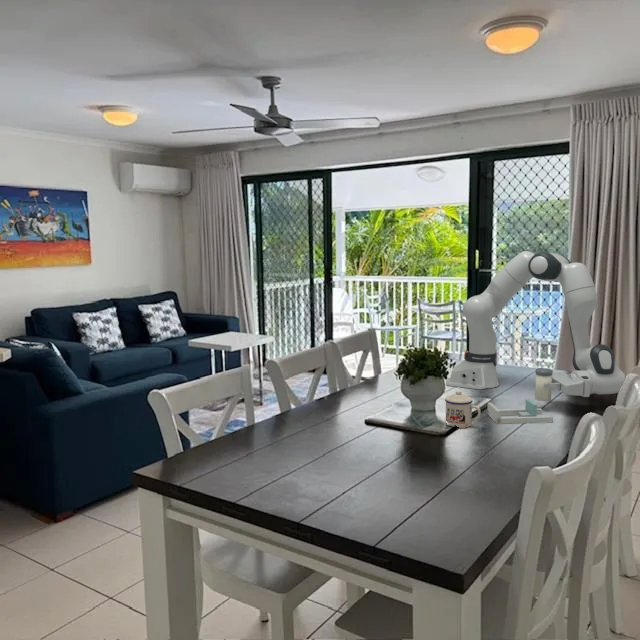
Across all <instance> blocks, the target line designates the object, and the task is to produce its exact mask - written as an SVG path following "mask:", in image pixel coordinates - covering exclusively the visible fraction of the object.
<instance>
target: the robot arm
mask: <svg viewBox="0 0 640 640" xmlns="http://www.w3.org/2000/svg"><path fill="white" fill-rule="evenodd" d="M533 278H535V279H536V280H539V281H544V282H555V283H559V284H560V286H561V288H562V292H563V296H564V299H565V303H566V304H565V305H566V308H567V317H568V323H569V324H568V325H569V330H570V335H571V341H572V347H573V356H572V366H573V369H574V370H571V372H570V373H569V374H567V373H566V372H558V371H553V375H552V383H544V387H545V388H551V390H558V391H559V392H561V393H562V394H563V395H567V396H578V397H579V396H581V397H583V398H589V397H590V395H592V394H593V395H594V394H597V395H612V394H613V395H614V394H618V393H620V392H619V390H620V388H621V386H622V385H623V383H624V381H625V378H626V374H625V373H624V372H623V371H622V370H621V369H620V368H619V366H618V363H617V361H616V358H615V353H614V351H613V350H612V348H610V347H609V346H608V345H606V344H602V343H600V344H595V345H593V346H592V343H591V338H590V334H589V327H588V326H589V325H588V324H589V320H590V318H591V316H592V315H593V313H594V311H596V309H597V307H598V294H597V290H596V287H595V283H594V281H593V278H592V276H591V273H590V271H589V269H588V267H587V266H586V265H585V263H582V262H571V261H570V260H569V259H568V258H567V257H566V256H564V255H562V254H558V253H555V252H548V251H546V252H545V251H541V252H538V253H534V252H532V251H530V250H529V251H528V250H524V251H521V252H520V253H518V254H517V255H516V256H514V257H513V258H512V259H511V260H509V262H507V263H506V264H505V265H504V266H503V268H501V269H500V271H498V272H497V273H496V275H495V276H493V278H491V281H490V283H489V285H488V286H487V288H486V289H484V291H483V292H482V293H480V294H477V295H473V296H471V297H469V298H468V299H467V300H466V301H465V302H464V303H463V305H462V314H463V317H464V318H465V320H466V324H467V328H468V329H467V330H468V338H469V339H468V344H469V345H468V349H469V350H465V351H464V360H463V361H461V362H460V363H458V364H457V365H456V366H454V367H453V368H452V370H451V373H450V377H448V378H447V379H446V380H445V382H446V384H445V385H446V386H448V387H456V388H457V387H458V388H465V389H472V390H484V389H491V388H492V389H493V388H495V387H496V388H497V387H499V386H500V383H499V378H498V371H497V365H498V353H497V333H496V332H495V329H494V325H493V319H494V318H496V317H497V316H498V315H499V314H501V312H502V311H503V310H504V308H505V307H507V305H508V303H510V301H511V299H512V298H513V297H514V296H515V295H516V294H517V293H518V292H519V291H520V290H521V289H522V288H523V287H524V286H525V285H526V284H527V283H528V282H529V281H530V280H532V279H533Z"/></svg>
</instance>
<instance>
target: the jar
mask: <svg viewBox="0 0 640 640" xmlns="http://www.w3.org/2000/svg"><path fill="white" fill-rule="evenodd" d="M553 372H554V370H553V369H552V368H545V367H538V368H536V369H535V385H534V386H535V389H534V400H535V401H540V402H550V401H551V400H552V389H551V388H545V387H544V383H552V375H553Z"/></svg>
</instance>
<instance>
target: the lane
mask: <svg viewBox="0 0 640 640" xmlns="http://www.w3.org/2000/svg"><path fill="white" fill-rule="evenodd" d="M518 412H525V408H509V409H508V408H504V409H502V408H501V409H500V408H498V407H497V406H496V405H494V404H493V403H492V402H487V415H489V416H490V417H491V418H492V419H493V422H494V423H495V424H497V423H512V424H527V423H526V422H551V423H554V417H553V416H552V415H545V416H544V415H543V409H542V408H538V407H537V414H541V415H542V416H541V415H537V416H534V417H519V416H518ZM501 415H502V416H501ZM489 416H488V417H489ZM504 416H505V417H504ZM490 417H489V418H490Z"/></svg>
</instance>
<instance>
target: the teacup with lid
mask: <svg viewBox="0 0 640 640" xmlns="http://www.w3.org/2000/svg"><path fill="white" fill-rule="evenodd" d="M444 401H445V422H446V421H447V422H448V423H452V424H455V425H456V426H457V427H459V428H458V429H466V428H465V427H467V428H469V426H470V427H471V426H472V421H476V420H478V419H479V418H480V416H481V408H480V407H479V406H477V405H474V404H473V399H472V397H470V396H469V395H466V394H464V393H463V392H462V390H456V391H455V393H452V395H448V396H446V397H445V399H444ZM473 409H476V411H477V415H476V416H475V417H472V414H473V413H472V410H473Z"/></svg>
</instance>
